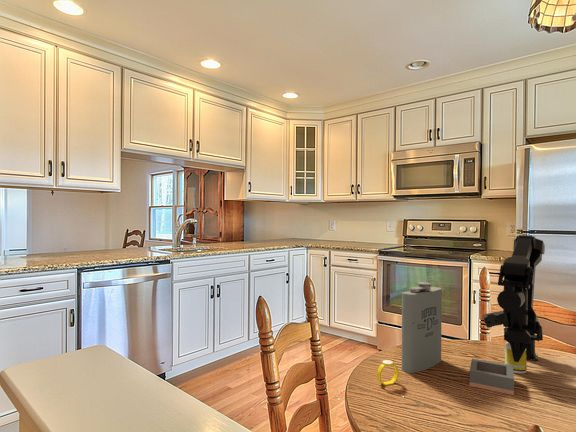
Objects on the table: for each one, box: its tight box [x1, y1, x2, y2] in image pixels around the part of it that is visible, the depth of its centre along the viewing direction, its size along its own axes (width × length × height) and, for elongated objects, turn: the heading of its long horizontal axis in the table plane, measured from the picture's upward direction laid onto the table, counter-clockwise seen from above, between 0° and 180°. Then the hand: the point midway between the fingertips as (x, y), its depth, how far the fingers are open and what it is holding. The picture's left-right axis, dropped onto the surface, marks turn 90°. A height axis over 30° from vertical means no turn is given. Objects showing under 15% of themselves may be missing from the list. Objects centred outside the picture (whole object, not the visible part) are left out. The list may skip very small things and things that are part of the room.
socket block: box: [469, 357, 515, 396], centre depth 98 cm, size 10×10×4 cm
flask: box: [400, 281, 443, 374], centre depth 110 cm, size 17×5×25 cm, turn 128°
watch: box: [376, 359, 399, 386], centre depth 97 cm, size 6×3×6 cm, turn 111°
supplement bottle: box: [504, 341, 528, 375], centre depth 107 cm, size 5×5×10 cm
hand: (515, 358), depth 107 cm, fingers closed on supplement bottle, 5 cm apart
